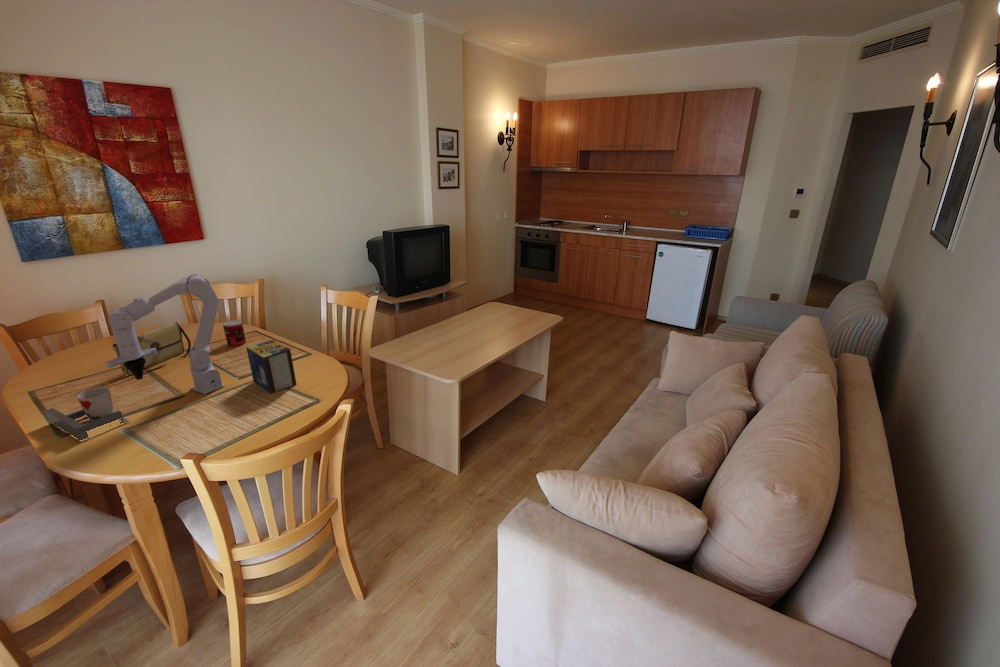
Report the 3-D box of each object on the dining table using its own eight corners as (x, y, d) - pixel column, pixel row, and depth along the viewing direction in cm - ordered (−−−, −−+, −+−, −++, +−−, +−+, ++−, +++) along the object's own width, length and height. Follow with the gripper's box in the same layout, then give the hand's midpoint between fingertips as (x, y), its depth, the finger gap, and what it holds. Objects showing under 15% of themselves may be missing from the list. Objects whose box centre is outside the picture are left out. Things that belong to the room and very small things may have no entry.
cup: (82, 420, 146) (71, 395, 142) (111, 409, 153) (102, 384, 149) (93, 427, 143) (83, 401, 139) (122, 415, 149) (113, 390, 146)
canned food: (229, 341, 213) (225, 320, 209) (248, 340, 215) (243, 319, 211) (225, 347, 206) (220, 326, 202) (244, 346, 208) (239, 324, 204)
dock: (130, 422, 146) (125, 409, 144) (81, 442, 135) (76, 429, 133) (98, 406, 155) (93, 393, 153) (50, 423, 144) (44, 410, 142)
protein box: (279, 373, 182) (272, 339, 176) (297, 384, 172) (290, 348, 167) (252, 382, 174) (245, 346, 168) (270, 394, 165) (263, 357, 159)
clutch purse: (132, 380, 174) (121, 346, 168) (119, 378, 175) (107, 344, 170) (197, 352, 201) (189, 321, 195) (185, 350, 202) (177, 320, 197)
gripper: (145, 335, 158) (155, 368, 163) (96, 348, 146) (109, 384, 151) (156, 338, 155) (166, 372, 160) (107, 352, 143) (119, 388, 148)
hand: (139, 378), depth 155 cm, fingers closed
